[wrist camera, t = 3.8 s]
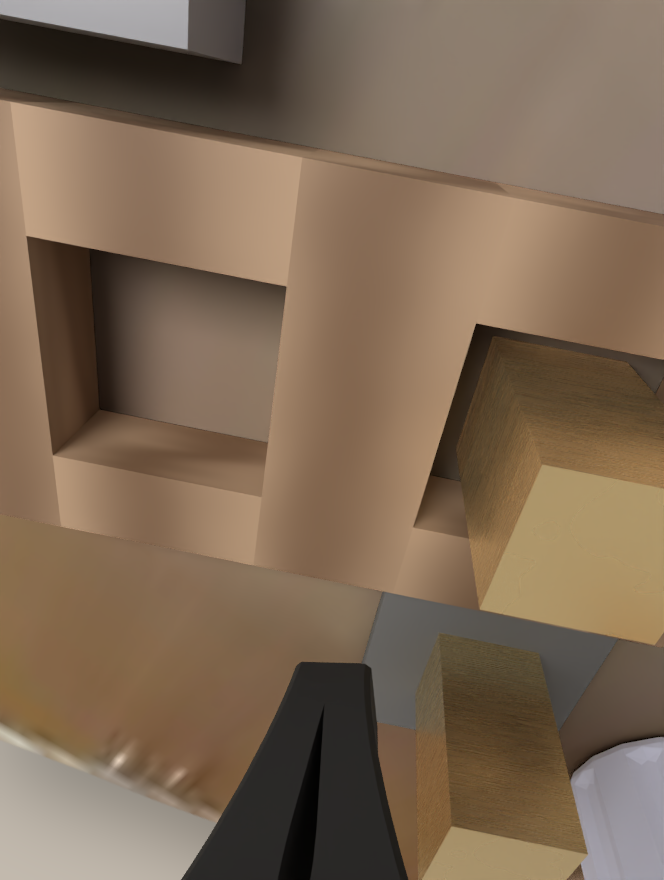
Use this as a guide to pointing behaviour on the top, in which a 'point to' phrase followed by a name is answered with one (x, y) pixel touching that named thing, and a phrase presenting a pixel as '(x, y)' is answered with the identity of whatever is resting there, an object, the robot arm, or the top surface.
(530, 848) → the block
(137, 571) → the top surface
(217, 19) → the button housing
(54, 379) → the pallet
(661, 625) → the block
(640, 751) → the soap bottle
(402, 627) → the mat
